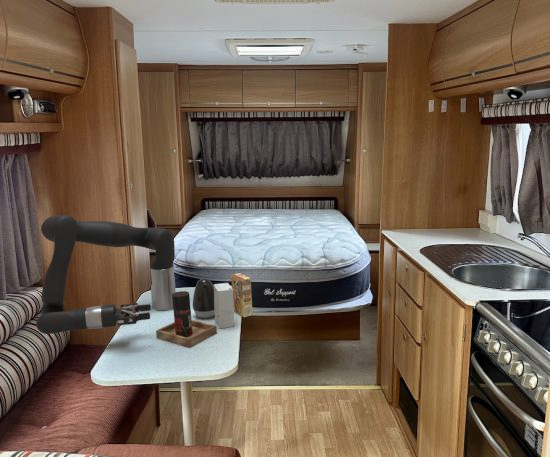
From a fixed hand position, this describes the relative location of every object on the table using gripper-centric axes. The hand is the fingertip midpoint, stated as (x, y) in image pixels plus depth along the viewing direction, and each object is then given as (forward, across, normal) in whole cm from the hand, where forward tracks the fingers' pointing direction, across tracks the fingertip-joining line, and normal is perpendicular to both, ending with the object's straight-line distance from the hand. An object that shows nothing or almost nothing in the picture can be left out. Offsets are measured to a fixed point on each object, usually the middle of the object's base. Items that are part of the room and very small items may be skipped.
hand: (150, 311), depth 176 cm
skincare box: (+26, +7, +11) cm, 29 cm away
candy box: (+34, +16, +11) cm, 39 cm away
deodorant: (+11, 0, +10) cm, 15 cm away
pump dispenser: (+20, +18, +11) cm, 29 cm away
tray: (+12, +1, +11) cm, 16 cm away
